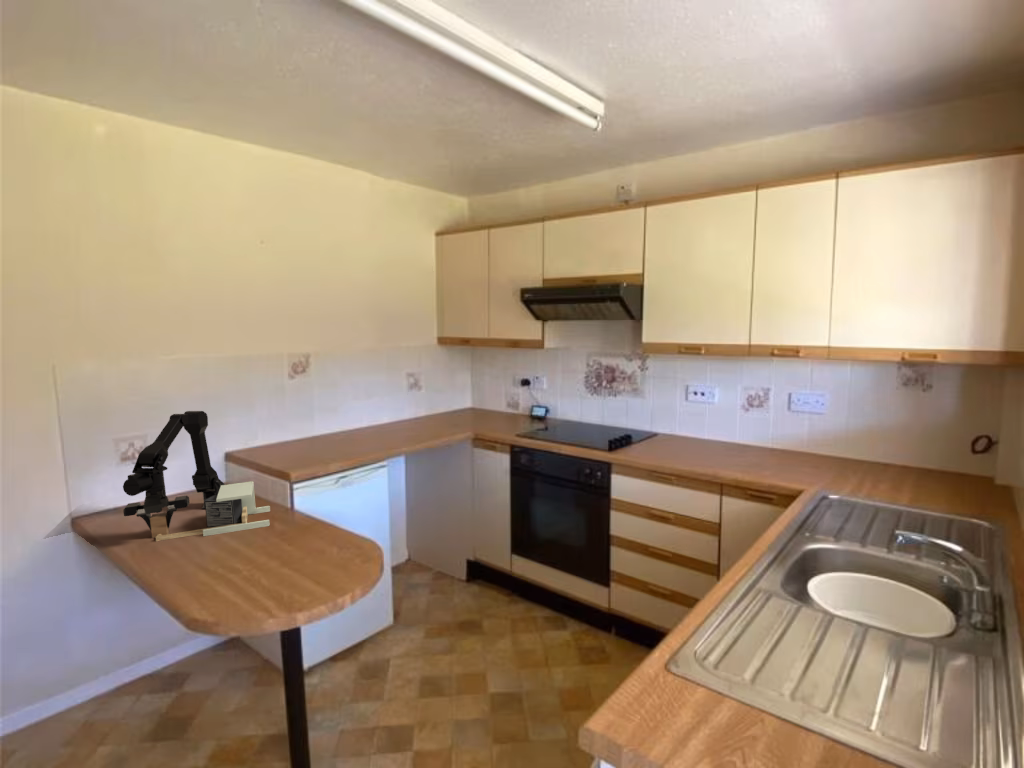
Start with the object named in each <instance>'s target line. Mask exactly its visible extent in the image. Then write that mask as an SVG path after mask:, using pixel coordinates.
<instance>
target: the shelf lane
mask: <svg viewBox="0 0 1024 768" xmlns="http://www.w3.org/2000/svg"><path fill="white" fill-rule="evenodd" d="M254 487H255V486H254V481H253V480H252V481H246V482H245V481H244V482H238V483H229V484H225V485H221V487H220V490H219V493H218V496H217V499H216V501H217V502H221V501H228V500H235V499H241V501H242V511H243V507H245V506H247V515H255V514H261V513H268V512H271V506H270V505H266V506H265V505H264V506H259V507H258V506H257V507H256V498H255V495H256V494H255V488H254ZM269 526H270V519H265V520H258V521H251V522H247V523H244V524H237V525H231V526H224V527H218V528H211V529H205V528H204V529H205V530H203V534H202V535H203V537H207V536H213V535H219V534H226V533H227V534H228V533H232V532H234V533H235V532H239V531H244V530H251V529H258V528H265V527H269Z"/></svg>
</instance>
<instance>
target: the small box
mask: <svg viewBox="0 0 1024 768" xmlns="http://www.w3.org/2000/svg"><path fill="white" fill-rule="evenodd" d="M217 496H218V495H214V496H212V497H210V498H208V499H206V500H203V503H204V502H205V509H204V510H205V517H206V518H205V519H206V528H212V527H218V526H224V525H231V524H237V523H242V501H241V499H235V500H228V501H221V502H217V501H216V499H217Z"/></svg>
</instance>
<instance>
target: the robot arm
mask: <svg viewBox="0 0 1024 768" xmlns="http://www.w3.org/2000/svg"><path fill="white" fill-rule="evenodd" d="M208 418H209V417H208V414H207V412H205V411H204V410H187V411H184V412H183V413H173V414H171V415H170V416H169V419H168V421H167V423H166V424H165V426H164V427H163V428H162V430H161V431H160V433H159V434H158V436H157V437H156V439H155V440H154V441H153V442H152V443H150V444H149V445H147V446H145V447H144V448H143V449H142V450H141V452H140V453H139V454H138V455H137V456H138V457H137V460H136V462H135V464H134V467H133V469H132V474H128V475H127V479H126V480H125V481H124V482H123V485H122V490H123V491H124V493H125V494H126V495H128V496H130V497H133V496H137V495H139V494H142V493H144V492H145V497H144V502H143V504H141V501H138V502H132V503H127V504H126V505H125V507H124V508H123V511H122V512H123V517H129V516H136V517H140V518H141V519H142V520H144V522H145V523H146V525H147V526H148V528H149V530H150V531H151V524H150V518H151V516H152V515H151V514H159V513H162V510H163V509H164V508H167V510H166V512H167V527H168V528H169V529H170V526H171V523H172V518H173V514H174V513H175V512H177V510H179V509H184V508H188V507H189V504H190V497H189V496H188V495H181V496H176V497H175V498H174V500H169V498H168V496H167V491H166V484H165V477H164V476H165V475H164V471H167V470H168V469H169V468H168V467H167V466H165V465H164V464H165V463H166V461H167V459H168V457H169V452H168V451H169V448H170V447H171V446H172V444H173V442H174V441H175V439H176V437H178V434H180V432H181V430H182V429H184V430H185V431H186V432H187V433H188V434H189V436H190V441H191V447H192V451H193V457H194V462H195V469H196V470H195V473H194V474H193V475H191V479H192V486H194V488H195V490H196V492H197V493H202V497H203V498H202V499H203V505H202V507H201V509H202V510H206V509H205V502H204V500H206V499H208V498H210V497H212V496H214V495H218V493H219V490H220V487H221V485H226V484H225V482H223V481H222V480H221V479H220V478H219V475H218V473H217V471H216V470H215V469H214V468H213V466H212V464H211V460H210V455H209V449H208V441H207V438H206V437H207V436H206V430H207V428H208V426H209V419H208Z"/></svg>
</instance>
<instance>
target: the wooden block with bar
mask: <svg viewBox="0 0 1024 768" xmlns="http://www.w3.org/2000/svg"><path fill="white" fill-rule="evenodd" d="M244 523H248V515H247V506H245V507H243V511H242V523H237V524H244ZM150 524H151V530H150V531H151V538H152V539H155V542H160V541H165V540H172V539H178V538H185V537H191V536H196V535H197V536H198V535H203V530H205V529H211V528H207V527H206V528H201V529H200V528H199V529H193V530H187V531H180V532H175V533H170V527H169V528H168V527H167V511H166V512H159V513H152V515H151V518H150ZM237 524H231V525H237ZM231 525H224V526H231ZM224 526H218V527H224ZM218 527H212V528H218Z"/></svg>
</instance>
